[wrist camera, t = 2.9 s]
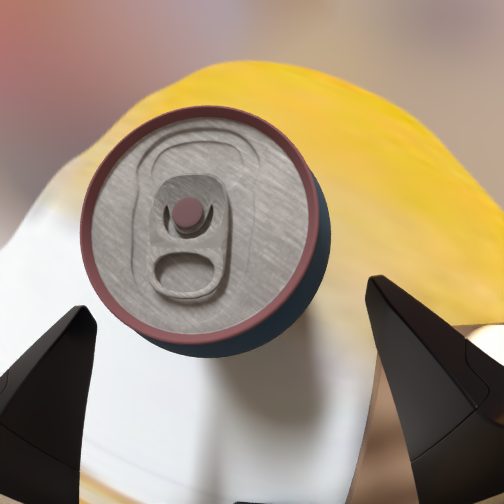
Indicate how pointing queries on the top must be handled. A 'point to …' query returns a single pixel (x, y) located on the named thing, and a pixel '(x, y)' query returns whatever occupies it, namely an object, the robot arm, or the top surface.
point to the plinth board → (401, 433)
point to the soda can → (205, 231)
